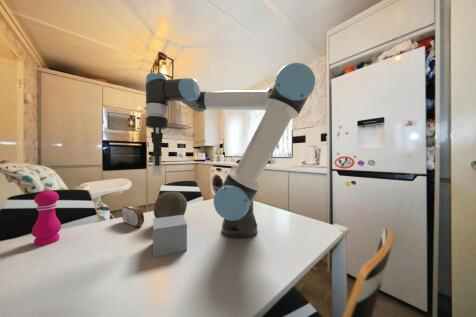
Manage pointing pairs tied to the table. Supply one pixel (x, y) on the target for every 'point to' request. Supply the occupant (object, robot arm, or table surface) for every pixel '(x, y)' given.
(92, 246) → the table surface
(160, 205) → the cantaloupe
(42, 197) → the pepper mill
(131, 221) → the tin
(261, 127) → the robot arm
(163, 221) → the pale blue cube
